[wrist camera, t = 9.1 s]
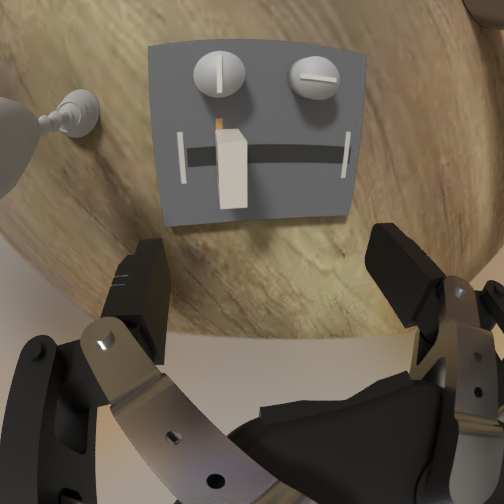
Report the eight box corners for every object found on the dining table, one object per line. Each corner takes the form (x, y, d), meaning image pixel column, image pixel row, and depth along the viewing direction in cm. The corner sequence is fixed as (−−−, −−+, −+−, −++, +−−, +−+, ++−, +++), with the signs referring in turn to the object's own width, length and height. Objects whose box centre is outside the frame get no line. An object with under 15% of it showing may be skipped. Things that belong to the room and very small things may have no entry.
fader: (238, 128, 22) (248, 141, 17) (239, 180, 25) (248, 207, 20) (214, 129, 22) (216, 143, 17) (216, 181, 25) (219, 209, 20)
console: (358, 55, 20) (380, 54, 17) (343, 209, 31) (358, 226, 27) (151, 48, 18) (141, 42, 15) (166, 220, 28) (161, 240, 25)
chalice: (53, 82, 17) (-88, 120, 2) (111, 75, 18) (-27, 87, 4) (51, 149, 21) (-68, 243, 6) (105, 147, 22) (-7, 251, 8)
